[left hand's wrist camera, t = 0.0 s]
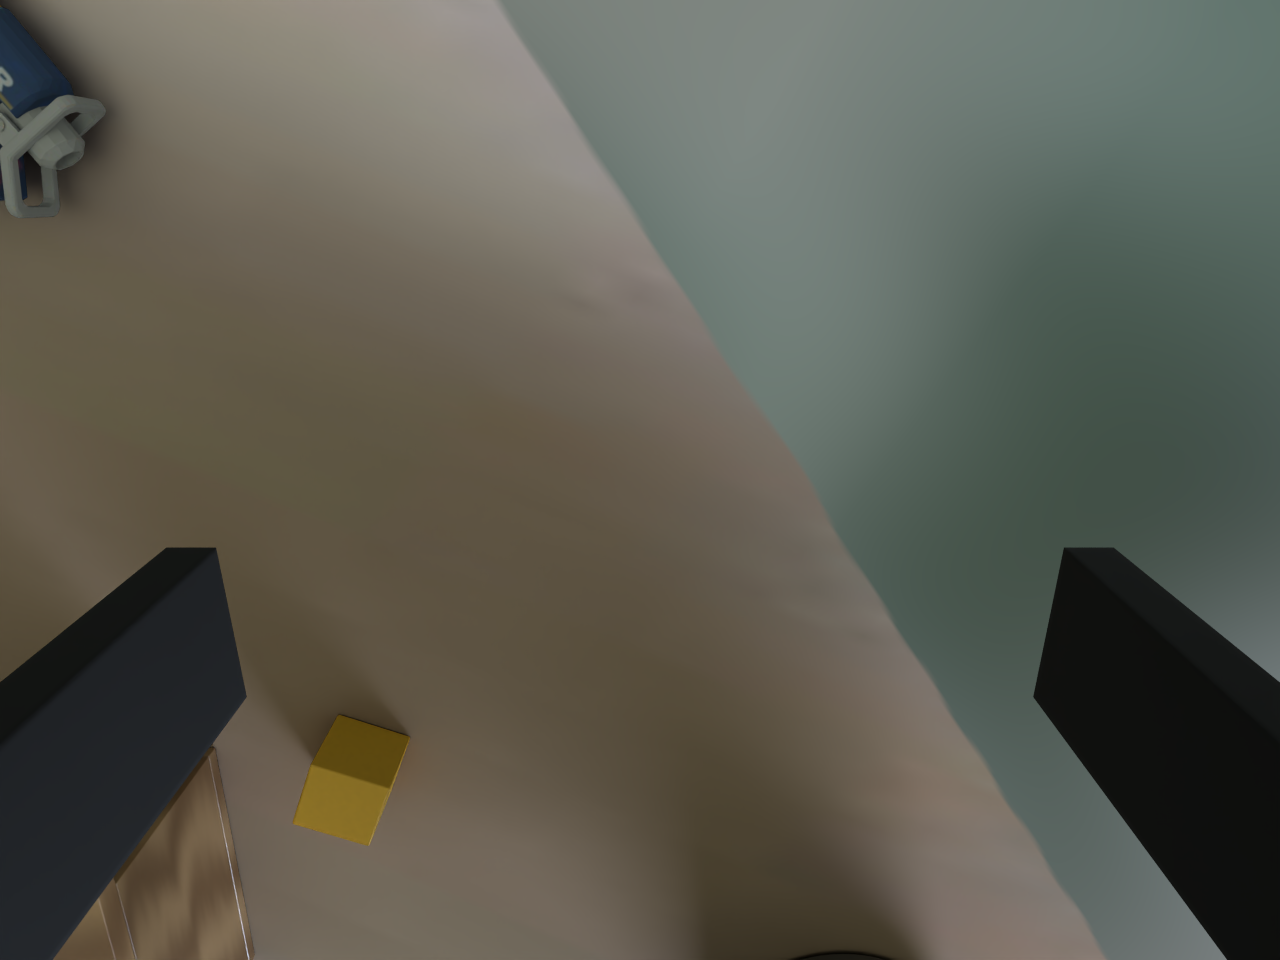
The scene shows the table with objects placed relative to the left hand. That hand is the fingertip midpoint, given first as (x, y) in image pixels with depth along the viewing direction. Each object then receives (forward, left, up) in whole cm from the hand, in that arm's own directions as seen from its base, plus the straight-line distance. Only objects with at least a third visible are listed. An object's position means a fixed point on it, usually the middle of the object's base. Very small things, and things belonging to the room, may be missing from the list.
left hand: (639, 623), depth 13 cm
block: (-26, +16, -28) cm, 41 cm away
